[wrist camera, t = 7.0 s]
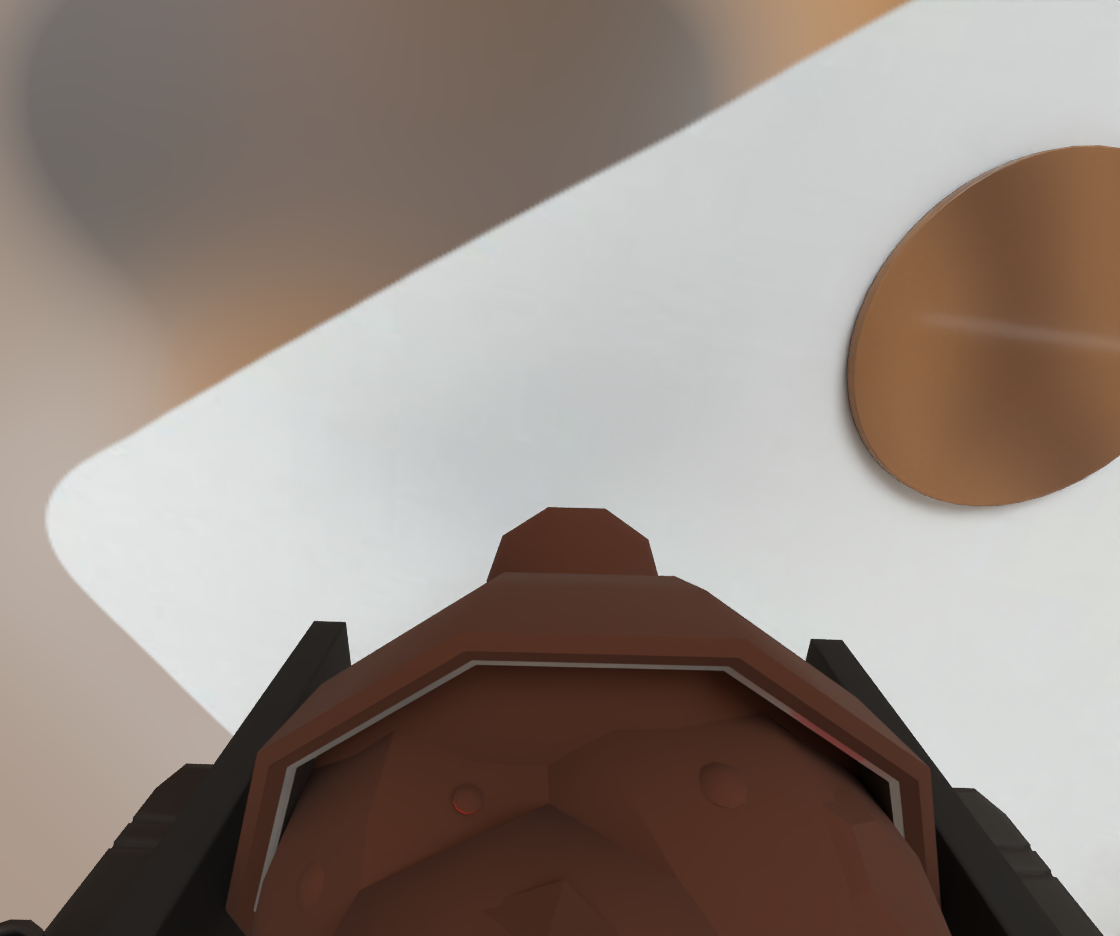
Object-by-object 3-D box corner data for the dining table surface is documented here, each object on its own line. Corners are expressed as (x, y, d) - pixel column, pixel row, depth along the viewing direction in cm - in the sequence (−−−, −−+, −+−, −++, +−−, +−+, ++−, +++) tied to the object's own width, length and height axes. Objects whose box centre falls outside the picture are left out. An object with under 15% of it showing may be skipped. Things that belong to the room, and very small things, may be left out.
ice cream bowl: (373, 670, 18) (-237, 1960, 4) (461, 362, 15) (-1652, 2324, 1) (658, 749, 20) (897, 1964, 6) (806, 482, 16) (2642, 2108, 2)
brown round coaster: (1118, 51, 20) (1135, 44, 19) (1256, 354, 24) (1273, 356, 23) (779, 335, 23) (785, 336, 23) (949, 557, 27) (957, 563, 27)
